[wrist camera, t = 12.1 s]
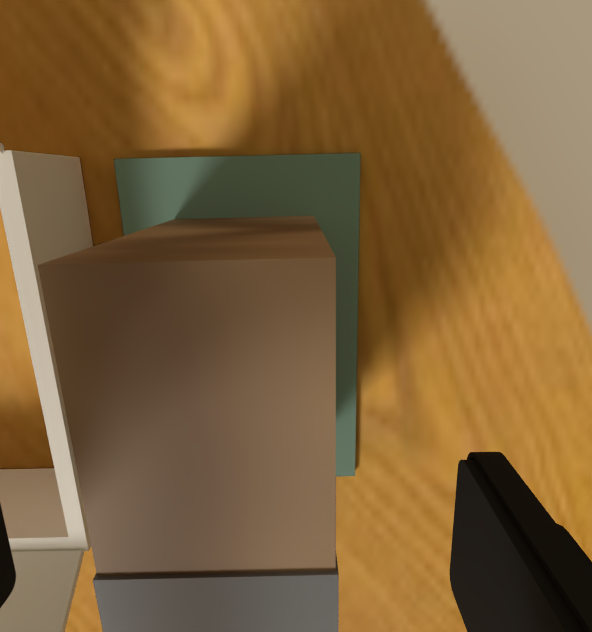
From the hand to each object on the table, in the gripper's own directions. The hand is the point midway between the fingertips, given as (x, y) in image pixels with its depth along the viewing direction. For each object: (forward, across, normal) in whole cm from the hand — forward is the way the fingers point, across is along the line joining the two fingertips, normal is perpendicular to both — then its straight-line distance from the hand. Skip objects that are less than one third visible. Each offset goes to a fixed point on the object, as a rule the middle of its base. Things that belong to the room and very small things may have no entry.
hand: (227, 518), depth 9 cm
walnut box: (+9, 0, -1) cm, 9 cm away
